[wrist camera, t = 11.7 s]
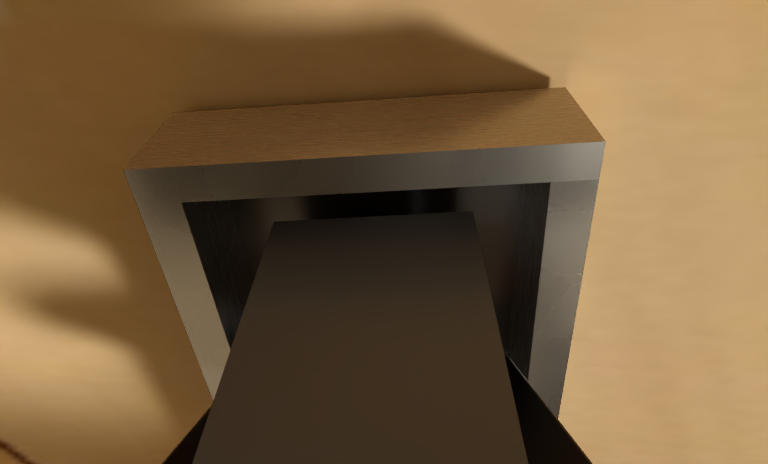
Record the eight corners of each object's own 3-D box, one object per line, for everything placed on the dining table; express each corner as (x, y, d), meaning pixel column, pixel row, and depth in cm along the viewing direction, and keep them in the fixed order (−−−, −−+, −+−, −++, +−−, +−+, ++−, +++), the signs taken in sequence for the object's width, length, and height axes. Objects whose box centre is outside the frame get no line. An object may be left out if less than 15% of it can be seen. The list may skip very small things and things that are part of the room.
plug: (470, 351, 13) (545, 860, 6) (304, 358, 13) (213, 856, 7) (472, 210, 11) (596, 771, 4) (273, 221, 11) (89, 769, 4)
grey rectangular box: (519, 472, 18) (535, 549, 16) (286, 478, 19) (272, 554, 17) (565, 87, 11) (604, 141, 9) (172, 112, 11) (123, 169, 9)
